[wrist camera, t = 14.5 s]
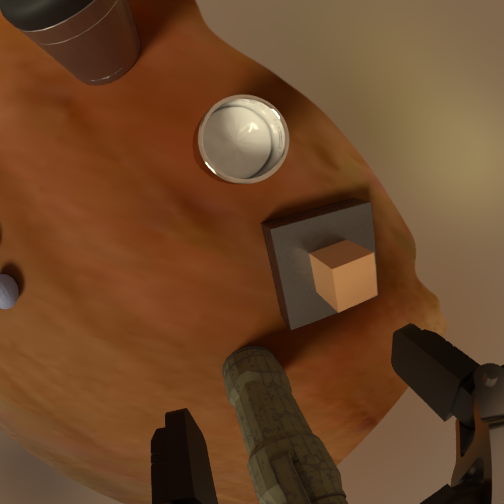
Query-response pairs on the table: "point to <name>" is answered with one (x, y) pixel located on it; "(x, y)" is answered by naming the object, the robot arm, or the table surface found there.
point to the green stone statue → (278, 434)
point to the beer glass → (241, 140)
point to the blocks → (8, 291)
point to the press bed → (304, 242)
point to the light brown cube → (344, 274)
